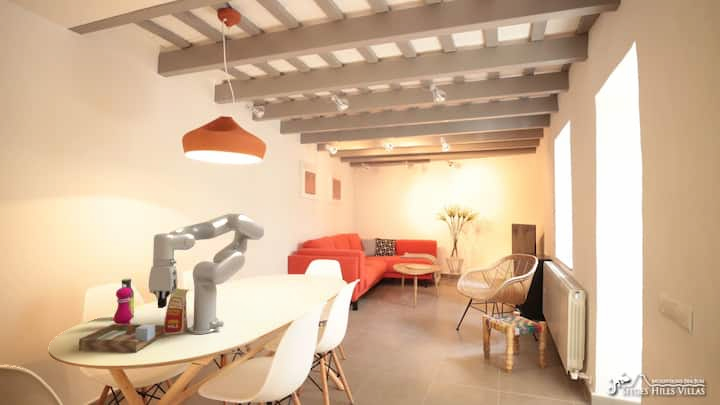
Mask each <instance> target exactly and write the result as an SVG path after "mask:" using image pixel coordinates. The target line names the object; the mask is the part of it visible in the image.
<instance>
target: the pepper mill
mask: <svg viewBox="0 0 720 405" xmlns="http://www.w3.org/2000/svg"><path fill="white" fill-rule="evenodd" d="M115 292H116V293H115V296H116V298H117V299H116V300H117V301H116V303H117V309H116V311H115V313H114V314H113V322H114V324H132V322H131V321H132V319H133V318H132V313H131V311H130V308H129V301H130V297H129V296H130V295H131V290H130V289H129V288H126V285H125V284H124V285H122V284H121V288H119V289H118V290H116V291H115Z"/></svg>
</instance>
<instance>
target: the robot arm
mask: <svg viewBox="0 0 720 405" xmlns="http://www.w3.org/2000/svg"><path fill="white" fill-rule="evenodd" d="M232 231H233V232H234V237H233V239H232V240H233V241H232V242H230V243H229V244H227V246H225V247H223V248H222V249H221V250H219V251H218V252H216V253H215V255H214V256H213V258H212V260H213V261H205V260H204V261H200V262H198V263H197V264H195V266H194V267H193V269H192V280H193V285H194V286H193V287H194V288H193V291H194V292H193V294H194V296H193V321H192V322H193V325H192V326H190V327H189V328H188V329H189V333H190V334H194V335H204V334H211V333H213V332H216V331H218V330H219V329H220V328H224V327H225V326H224V325H225V322H224V321H221V320H220V321H219V318H218V317H217V293H218V292H217V286H218V285H221V284H224V283H225V282H227V281H228V280H229V279H230V278H232V277H233V276H234V275H236V274H237V273H238V272H239V271H240V270H241V269H243V267H244V264H245V263H246V262H245V261H246V256H245V255H244V254H245V253H246V252H247V249H248V243H249V242H248V240H250V241H251V240H252V241H258V240H260V239H262V238H263V237H264V234H265V229H264V226H263V225H262V224H260V223H259V222H257V221H256V220H254V219H252V218H251V217H248V216H247V215H244V214H242V213H227V214H224V215H221V216H218V217H215V218H212V219H210V220H207V221H204V222H199V223H195V224H192V225H191V224H190V225H188V226H184V227H180V228H178V229H174V230H172V231H170V232H168V233H157V234H155V235H153V236H154V237H153V250H152V251H153V255H152V257H153V258H152V266H151V268H150V272H149V277H148V289H149V291H148V292H149V293H150V294H153V295H154V296H155V298H156V299H157V309H164V308H165V307H166V308H167V306H168V297H170V296H171V294H173V293H175V292H176V290H175V289H176V288H178V283H179V282H178V280H179V279H178V271H177V267H176V264H177V260H175V251H176V250H177V251H179V250H180V251H187V250H190V249H193V247H194V246H195V244H196V241H200V240H210V239H215V238H217V237H219V236H221V235H224V234H227V233H229V232H232Z"/></svg>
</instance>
